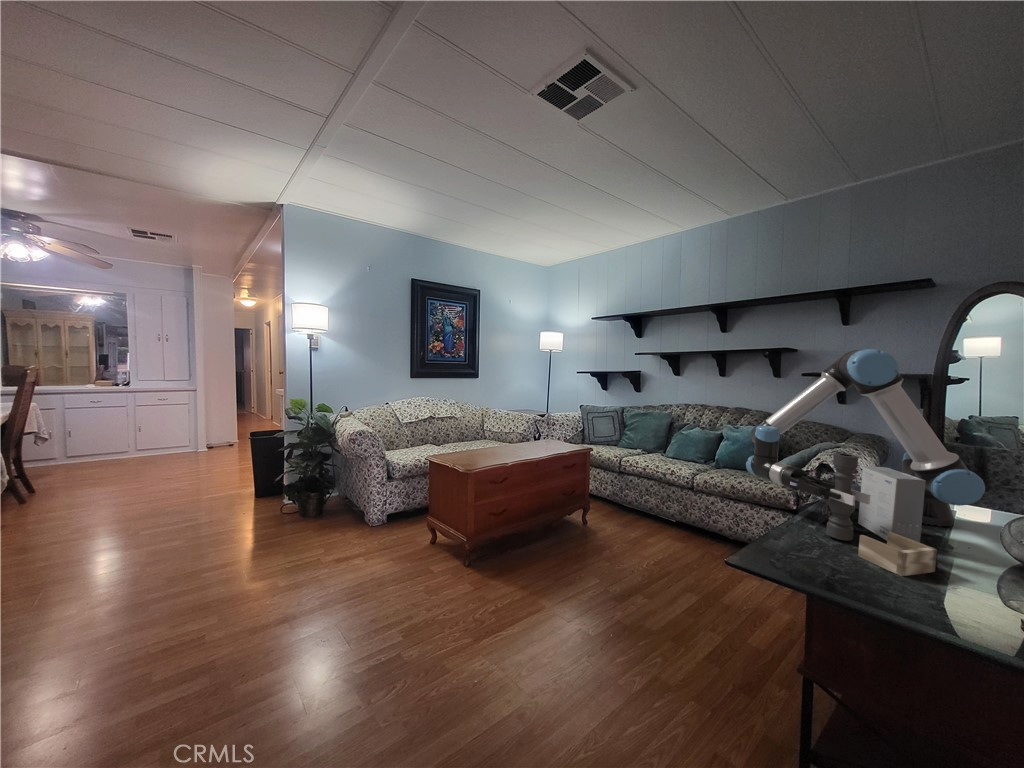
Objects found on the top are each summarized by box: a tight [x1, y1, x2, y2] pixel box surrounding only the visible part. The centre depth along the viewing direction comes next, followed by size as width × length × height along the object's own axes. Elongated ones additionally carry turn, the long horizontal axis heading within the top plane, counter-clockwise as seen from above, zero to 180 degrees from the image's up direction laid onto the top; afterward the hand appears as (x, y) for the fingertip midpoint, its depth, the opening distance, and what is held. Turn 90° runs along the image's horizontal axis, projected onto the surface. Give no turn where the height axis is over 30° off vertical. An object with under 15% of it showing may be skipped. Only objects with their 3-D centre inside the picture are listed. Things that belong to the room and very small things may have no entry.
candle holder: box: [825, 452, 859, 541], centre depth 118 cm, size 6×6×25 cm
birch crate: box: [857, 532, 938, 577], centre depth 105 cm, size 11×10×6 cm
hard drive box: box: [857, 465, 926, 543], centre depth 123 cm, size 16×8×20 cm, turn 168°
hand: (861, 500), depth 113 cm, fingers closed on candle holder, 5 cm apart
